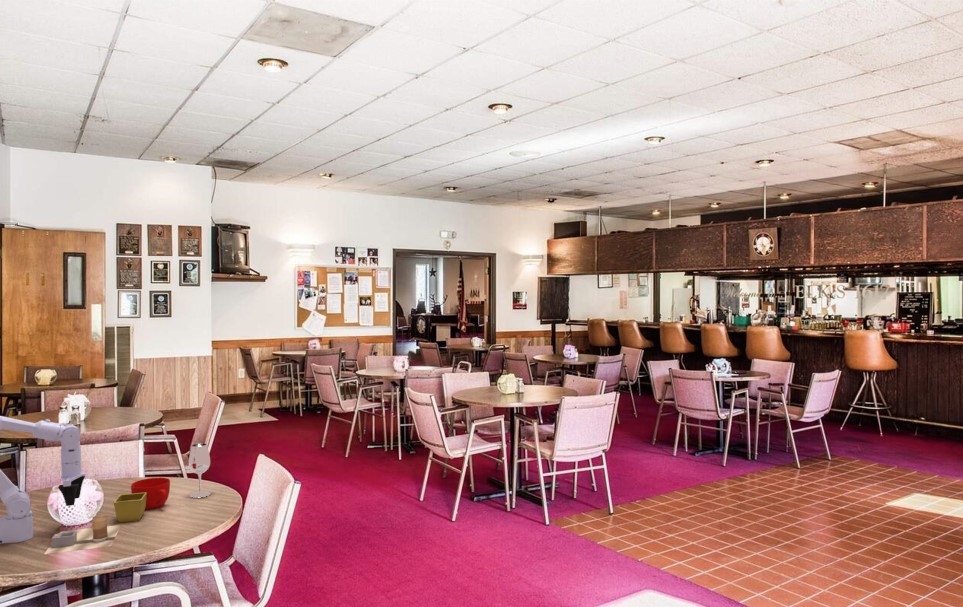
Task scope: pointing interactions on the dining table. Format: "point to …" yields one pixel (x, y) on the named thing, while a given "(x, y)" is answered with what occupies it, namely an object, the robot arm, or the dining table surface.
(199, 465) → the wineglass
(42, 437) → the robot arm
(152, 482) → the ceramic cup
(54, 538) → the box
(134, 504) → the flower pot
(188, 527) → the dining table surface
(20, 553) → the dining table surface
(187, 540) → the dining table surface
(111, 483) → the dining table surface
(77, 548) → the board
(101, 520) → the brown cylinder
